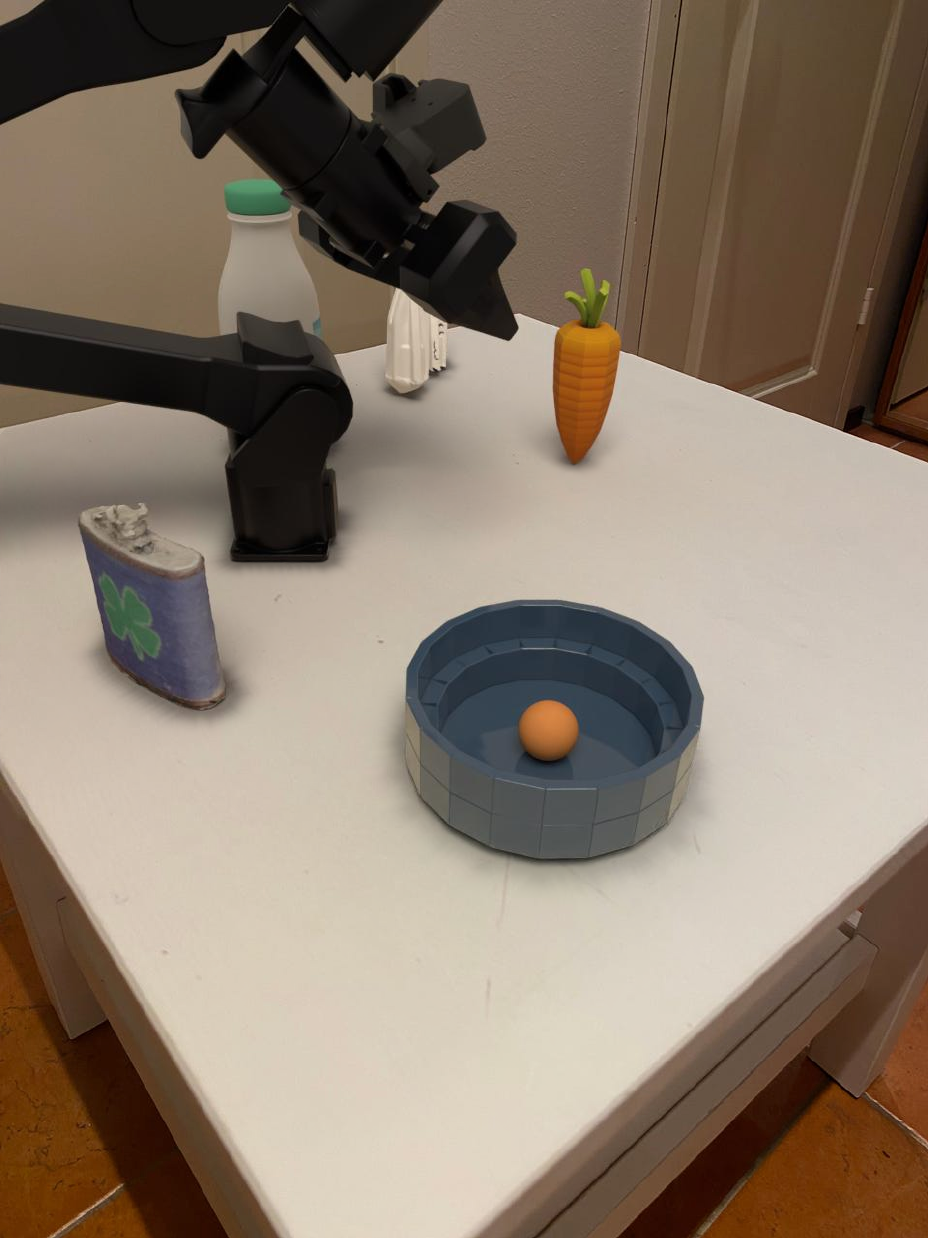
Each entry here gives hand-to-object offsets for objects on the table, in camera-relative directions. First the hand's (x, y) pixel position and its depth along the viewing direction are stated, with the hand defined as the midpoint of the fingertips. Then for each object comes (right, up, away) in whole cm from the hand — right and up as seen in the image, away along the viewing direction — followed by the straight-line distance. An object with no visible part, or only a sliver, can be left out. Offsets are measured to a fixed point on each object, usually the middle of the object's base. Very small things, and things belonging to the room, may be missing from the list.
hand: (475, 314), depth 63 cm
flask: (-18, -24, -11) cm, 32 cm away
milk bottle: (-16, -6, +14) cm, 22 cm away
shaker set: (-5, +2, +27) cm, 27 cm away
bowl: (+3, -28, -16) cm, 32 cm away
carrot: (+8, -8, +12) cm, 17 cm away
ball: (+3, -26, -17) cm, 32 cm away
